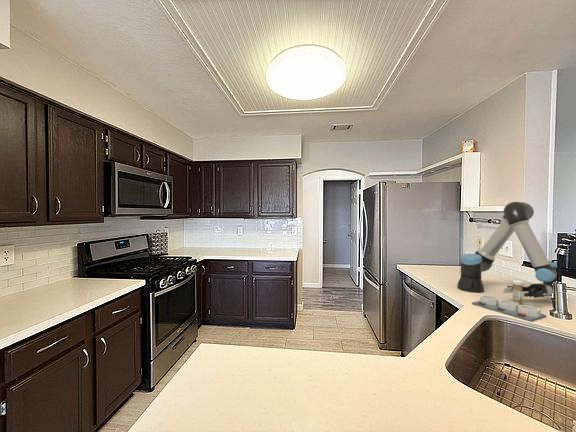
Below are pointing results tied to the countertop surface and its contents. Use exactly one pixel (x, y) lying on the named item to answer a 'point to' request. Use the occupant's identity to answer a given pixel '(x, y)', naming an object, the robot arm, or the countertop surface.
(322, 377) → the countertop surface
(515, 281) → the sprinkles bottle
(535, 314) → the breaker board
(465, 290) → the robot arm
